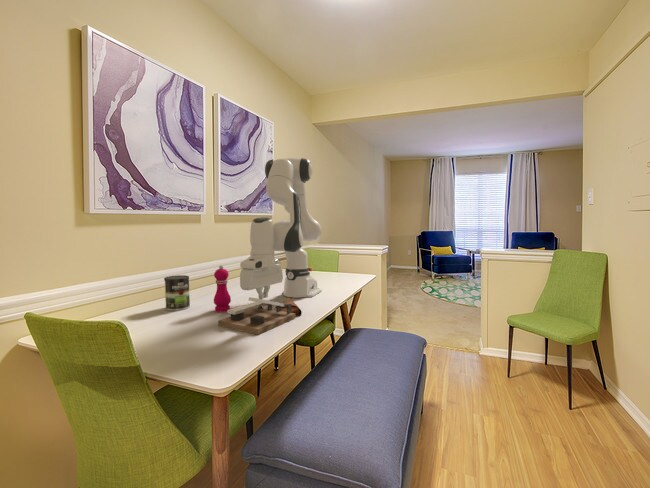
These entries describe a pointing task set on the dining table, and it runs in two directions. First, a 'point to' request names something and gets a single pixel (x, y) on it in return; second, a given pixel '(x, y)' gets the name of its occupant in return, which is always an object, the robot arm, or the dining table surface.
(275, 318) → the base
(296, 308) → the sunglasses case
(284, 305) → the strap
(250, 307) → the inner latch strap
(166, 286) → the coffee can
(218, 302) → the pepper mill
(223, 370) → the dining table surface
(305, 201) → the robot arm
